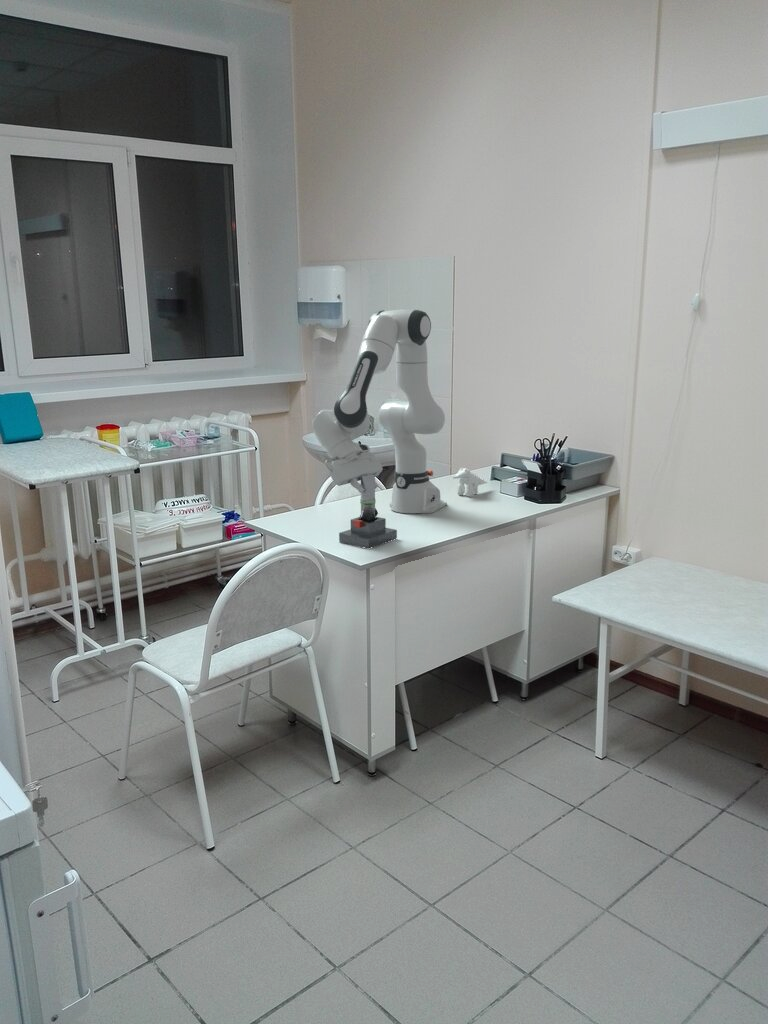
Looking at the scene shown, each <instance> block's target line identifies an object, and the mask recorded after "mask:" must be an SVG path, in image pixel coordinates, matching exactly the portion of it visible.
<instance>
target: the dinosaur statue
mask: <svg viewBox="0 0 768 1024" xmlns="http://www.w3.org/2000/svg"><path fill="white" fill-rule="evenodd" d="M452 479H453V480H454V479H458V484H457V487H456V489H457V491H456V492H457V495H458V496H460V495H461V496H464V495H465V496H466V497H467V496H471V497H473V495H474V494H476V495H478V494H477V493H479V492H478V489H479V488H478V487H479V486H481V485H484V484H488V482H487V481H485V479H484V478H481V476H479V475H477V473H475V474H474V473H473V472H471V470H470V469H468V468H466V467H460V469H458V472H457V473H456V474H455V475H454V476H452Z"/></svg>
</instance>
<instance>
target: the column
mask: <svg viewBox="0 0 768 1024" xmlns="http://www.w3.org/2000/svg"><path fill="white" fill-rule="evenodd" d="M375 482H376V476H375V474H371V473H366V474H362V475H361V480H360V484H361V485H364V487H365V488H366V490H365V491H364V492H362V493H360V515H361V519H362V520H374V519H375V508H376V500H377V499H376V489H375Z"/></svg>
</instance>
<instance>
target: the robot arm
mask: <svg viewBox="0 0 768 1024" xmlns="http://www.w3.org/2000/svg"><path fill="white" fill-rule="evenodd" d="M367 324H368V325H367V327H366V329H365V332H364V334H363V337H362V338H361V339H362V340H361V342H360V346H359V349H358V353H357V359H356V363H355V366H354V368H353V371H352V373H351V376H350V378H349V381H348V384H347V387H346V388H345V390H344V391H343V393H342V394H341V395H340V396H339V397H338V398H337V400H336V402H335V403H334V407H333V408H334V409H321V410H320V411H319V412H317V413H316V414H315V416H314V417H313V419H311V420H312V421H311V430H312V432H313V435H314V436H315V437H316V440H318V442H319V444H320V446H321V447H322V448H324V449H325V450H326V453H327V455H328V457H329V458H326V460H325V463H324V465H325V467H326V468H327V472H328V474H329V476H330V477H331V479H332V481H333V483H334V484H335V485H337V486H338V487H339V486H340V487H341V486H343V485H344V486H345V485H347V484H348V485H349V484H350V485H351V487H353V488H355V489H356V490H357V491H358V492H359V493H360V494H361V493H362V492H364V491H365V490H366V488H365V487H364V485H361V475H362V474H366V473H371V474H375V477H378V476H379V475H380V474H381V473H382V472H383V465H382V464H381V463H380V461H379V460H378V458H377V457H376V455H375V454H373V453H372V452H371V451H370V450H371V448H370V447H369V445H367V444H364V443H358V442H354V440H355V439H358V438H360V437H362V436H364V435H365V434H366V433H368V432H369V429H370V426H371V418H370V415H369V412H368V408H367V394H368V391H369V388H370V385H371V384H372V383H371V382H372V380H373V377H374V375H378V374H381V373H384V372H385V371H386V370H387V369H388V367H389V365H390V363H391V361H392V358H393V356H394V352H395V353H396V354H395V384H396V386H397V388H399V389H400V390H401V391H402V392H403V393H404V394H405V396H406V399H407V401H403V400H392V401H387V402H385V403H383V404H382V406H381V407H380V409H379V411H378V421H379V422H378V423H380V426H381V427H382V428H383V429H384V430H385V432H387V433H388V436H389V437H390V439H391V441H392V444H393V448H394V455H395V458H394V461H395V470H394V474H393V477H394V478H393V479H394V481H395V482H394V483H393V486H392V493H391V502H389V507H390V509H391V510H392V511H394V512H396V513H400V514H401V513H402V514H431V513H434V512H436V511H439V510H440V509H441V508H444V507H445V505H446V506H447V505H448V503H447V502H446V501H445V500H441V491H440V489H439V488H438V487H437V486H436V485H435V484H434V483H432V482H431V480H430V477H433V476H434V471H433V470H429V469H428V470H427V450H426V448H425V446H424V445H422V444H421V443H420V442H419V441H418V439H417V437H416V435H417V434H419V435H433V434H438V433H439V432H440V431H441V430H442V429H443V427H444V424H445V423H446V422H445V421H446V416H445V412H444V410H443V408H442V407H441V406H440V405H439V404H438V403H437V402H436V401H435V400H434V397H433V396H432V394H431V391H430V388H429V387H430V386H429V380H428V379H429V378H428V348H427V339H428V337H429V336H430V334H431V330H432V321H431V319H430V316H429V315H428V313H427V312H426V311H423V310H420V309H414V310H413V309H405V308H404V309H403V308H401V309H400V308H399V309H391V310H383V309H382V310H378V311H375V312H374V313H372V315H371V316H370V318H369V320H368V323H367ZM395 350H396V351H395ZM415 434H416V435H415ZM378 485H379V484H377V482H376V481H375V490H376V489H377V488H378V487H379V486H378Z"/></svg>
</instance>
